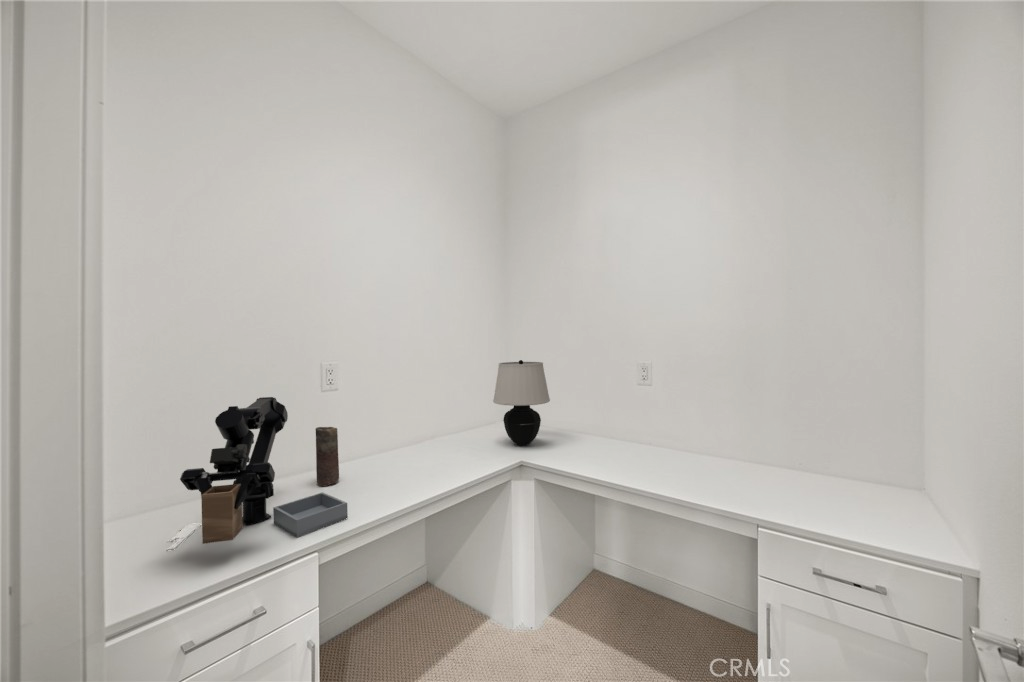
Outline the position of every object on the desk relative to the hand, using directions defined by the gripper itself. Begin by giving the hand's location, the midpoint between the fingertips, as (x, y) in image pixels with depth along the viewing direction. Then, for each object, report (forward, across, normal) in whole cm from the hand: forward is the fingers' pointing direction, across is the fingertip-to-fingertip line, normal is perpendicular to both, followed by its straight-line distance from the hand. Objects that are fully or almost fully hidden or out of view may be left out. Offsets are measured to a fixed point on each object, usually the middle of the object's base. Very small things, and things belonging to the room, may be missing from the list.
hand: (220, 510), depth 96 cm
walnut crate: (+4, 0, +6) cm, 7 cm away
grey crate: (-4, +16, +20) cm, 26 cm away
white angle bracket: (-3, -16, +21) cm, 26 cm away
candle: (-27, +15, +44) cm, 53 cm away
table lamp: (-48, +96, +64) cm, 125 cm away
